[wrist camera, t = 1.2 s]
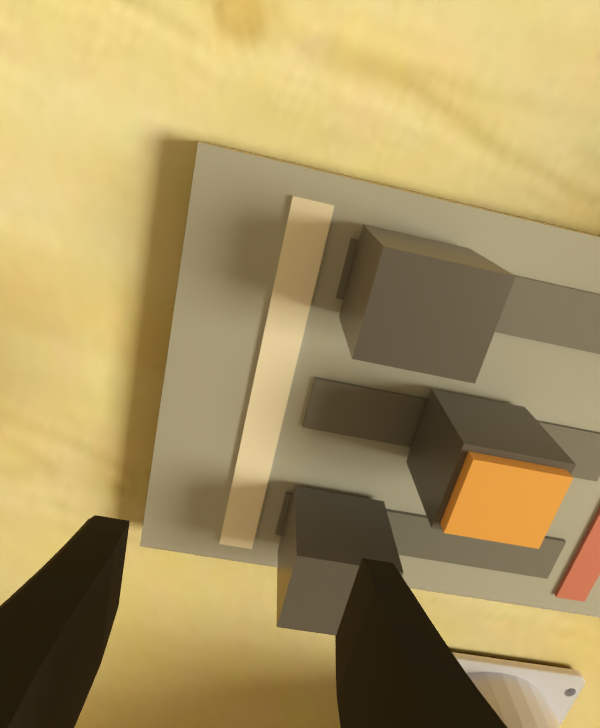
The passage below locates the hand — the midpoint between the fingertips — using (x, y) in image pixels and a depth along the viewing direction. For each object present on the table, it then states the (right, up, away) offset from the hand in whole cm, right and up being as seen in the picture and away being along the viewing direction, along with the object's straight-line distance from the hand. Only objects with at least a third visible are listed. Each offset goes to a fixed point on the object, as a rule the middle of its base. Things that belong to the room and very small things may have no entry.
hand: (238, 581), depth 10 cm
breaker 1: (+2, -2, +9) cm, 10 cm away
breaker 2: (+4, +6, +6) cm, 10 cm away
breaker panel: (+7, +2, +9) cm, 12 cm away
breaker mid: (+7, +2, +8) cm, 11 cm away
